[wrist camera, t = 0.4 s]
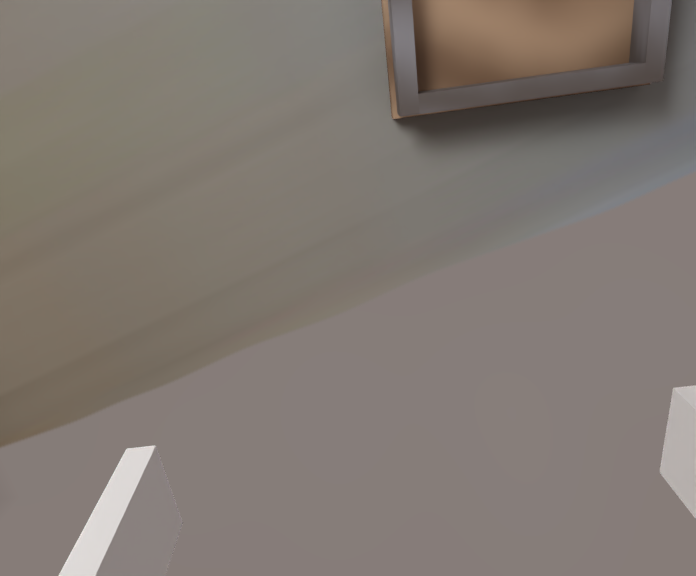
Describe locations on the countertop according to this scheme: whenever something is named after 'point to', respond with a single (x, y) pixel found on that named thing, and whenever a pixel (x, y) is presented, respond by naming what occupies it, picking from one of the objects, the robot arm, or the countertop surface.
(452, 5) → the brown shallow square tray
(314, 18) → the countertop surface
